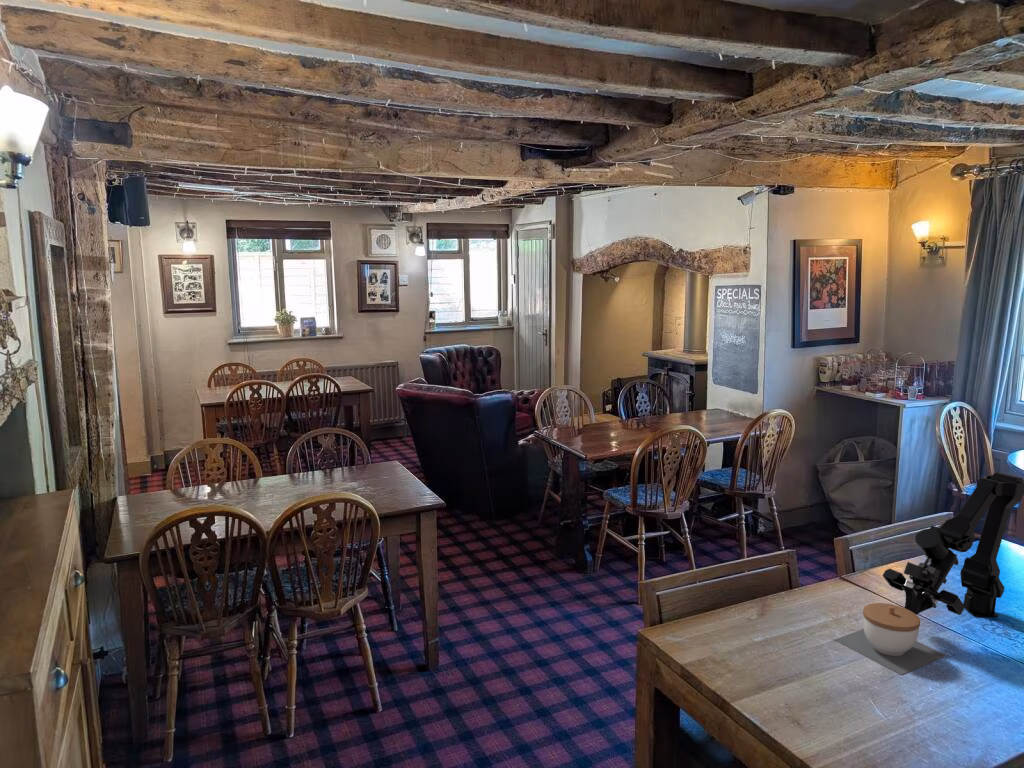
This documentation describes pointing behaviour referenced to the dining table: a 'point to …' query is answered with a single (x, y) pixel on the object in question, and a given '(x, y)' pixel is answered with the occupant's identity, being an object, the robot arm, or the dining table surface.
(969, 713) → the dining table surface
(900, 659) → the placemat
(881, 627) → the lidded bowl
